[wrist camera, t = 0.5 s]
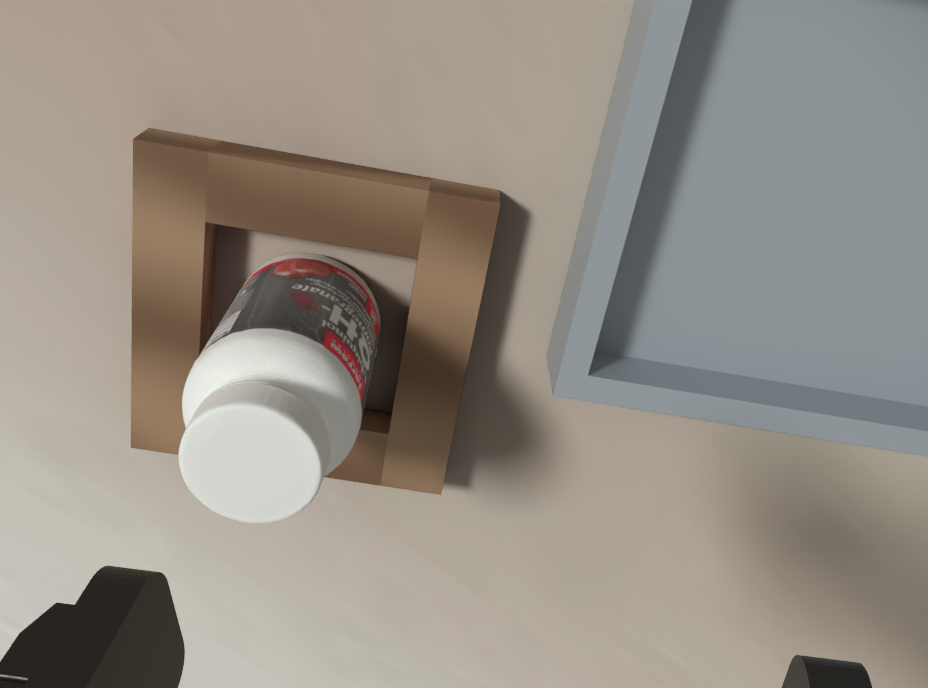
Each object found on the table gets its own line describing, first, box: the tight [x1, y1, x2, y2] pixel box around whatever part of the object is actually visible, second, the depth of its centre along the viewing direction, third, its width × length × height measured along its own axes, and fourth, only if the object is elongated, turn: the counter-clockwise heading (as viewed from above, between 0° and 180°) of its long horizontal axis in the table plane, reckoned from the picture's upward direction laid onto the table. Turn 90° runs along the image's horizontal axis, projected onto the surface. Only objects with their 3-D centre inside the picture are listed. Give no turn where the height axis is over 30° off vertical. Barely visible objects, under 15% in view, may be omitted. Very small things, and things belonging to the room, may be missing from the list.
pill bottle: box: [179, 253, 381, 524], centre depth 28 cm, size 5×5×10 cm
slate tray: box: [547, 0, 928, 456], centre depth 29 cm, size 16×16×3 cm
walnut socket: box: [131, 128, 501, 495], centre depth 32 cm, size 12×12×2 cm
